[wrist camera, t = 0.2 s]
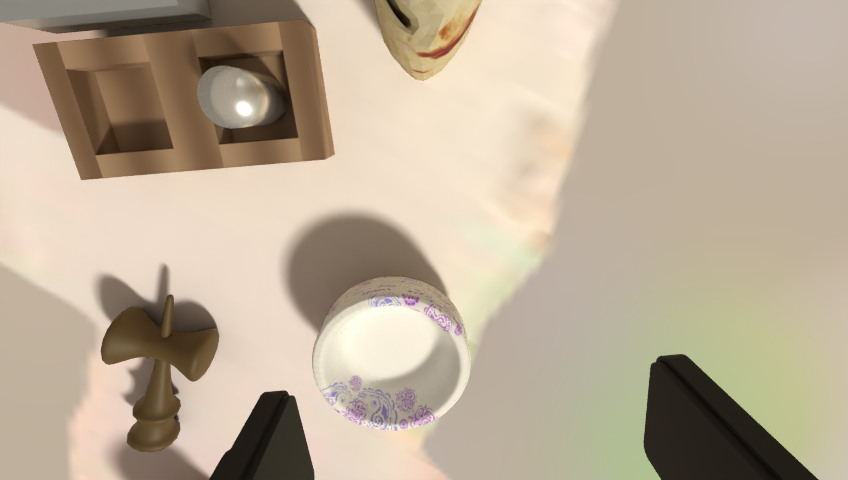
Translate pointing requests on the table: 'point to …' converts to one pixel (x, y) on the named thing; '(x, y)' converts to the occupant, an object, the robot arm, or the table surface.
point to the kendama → (158, 369)
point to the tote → (99, 13)
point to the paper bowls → (392, 354)
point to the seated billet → (241, 97)
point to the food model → (425, 31)
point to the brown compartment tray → (183, 99)
